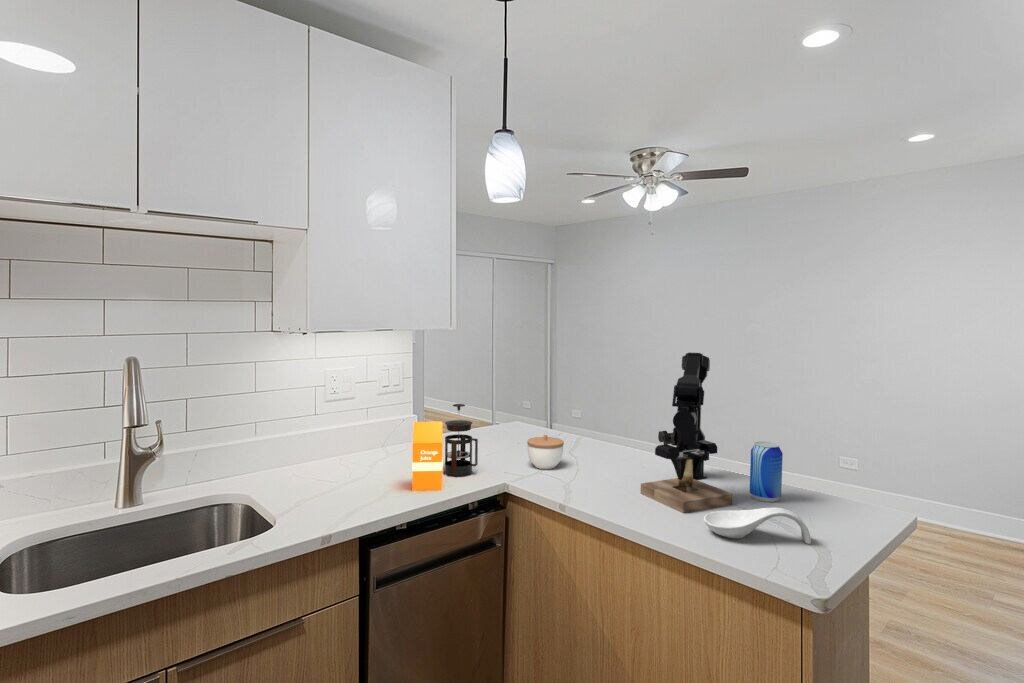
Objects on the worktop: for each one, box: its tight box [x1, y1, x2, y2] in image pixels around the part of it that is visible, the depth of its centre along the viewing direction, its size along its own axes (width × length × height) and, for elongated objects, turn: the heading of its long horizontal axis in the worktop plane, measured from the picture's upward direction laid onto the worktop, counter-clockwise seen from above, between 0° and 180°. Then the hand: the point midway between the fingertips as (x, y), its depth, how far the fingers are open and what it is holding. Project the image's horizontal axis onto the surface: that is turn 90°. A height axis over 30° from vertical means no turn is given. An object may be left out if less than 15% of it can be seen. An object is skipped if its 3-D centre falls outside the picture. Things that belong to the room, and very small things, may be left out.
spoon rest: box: [703, 507, 812, 545], centre depth 135 cm, size 24×12×7 cm, turn 77°
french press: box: [443, 403, 479, 478], centre depth 184 cm, size 12×9×23 cm
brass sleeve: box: [678, 457, 693, 488], centre depth 161 cm, size 4×4×8 cm
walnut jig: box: [640, 477, 734, 514], centre depth 161 cm, size 18×18×3 cm
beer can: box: [749, 441, 783, 503], centre depth 162 cm, size 8×8×16 cm
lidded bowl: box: [526, 434, 565, 470], centre depth 194 cm, size 13×13×11 cm
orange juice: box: [411, 421, 444, 492], centre depth 169 cm, size 8×9×20 cm
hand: (685, 478), depth 161 cm, fingers closed on brass sleeve, 4 cm apart
